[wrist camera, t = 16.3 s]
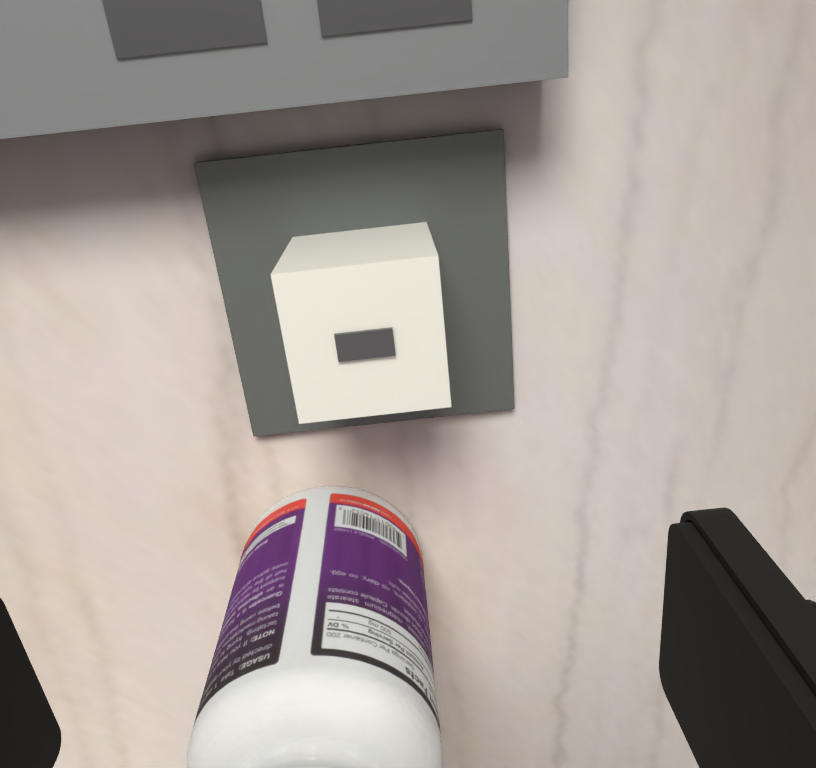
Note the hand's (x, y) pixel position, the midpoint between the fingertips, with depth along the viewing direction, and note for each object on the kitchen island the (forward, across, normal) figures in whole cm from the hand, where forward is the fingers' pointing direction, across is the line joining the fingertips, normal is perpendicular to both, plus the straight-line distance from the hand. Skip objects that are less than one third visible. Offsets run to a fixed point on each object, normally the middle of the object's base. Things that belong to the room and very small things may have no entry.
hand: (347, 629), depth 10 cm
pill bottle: (+18, +3, +12) cm, 22 cm away
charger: (+18, 0, 0) cm, 18 cm away
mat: (+18, 0, 0) cm, 18 cm away
